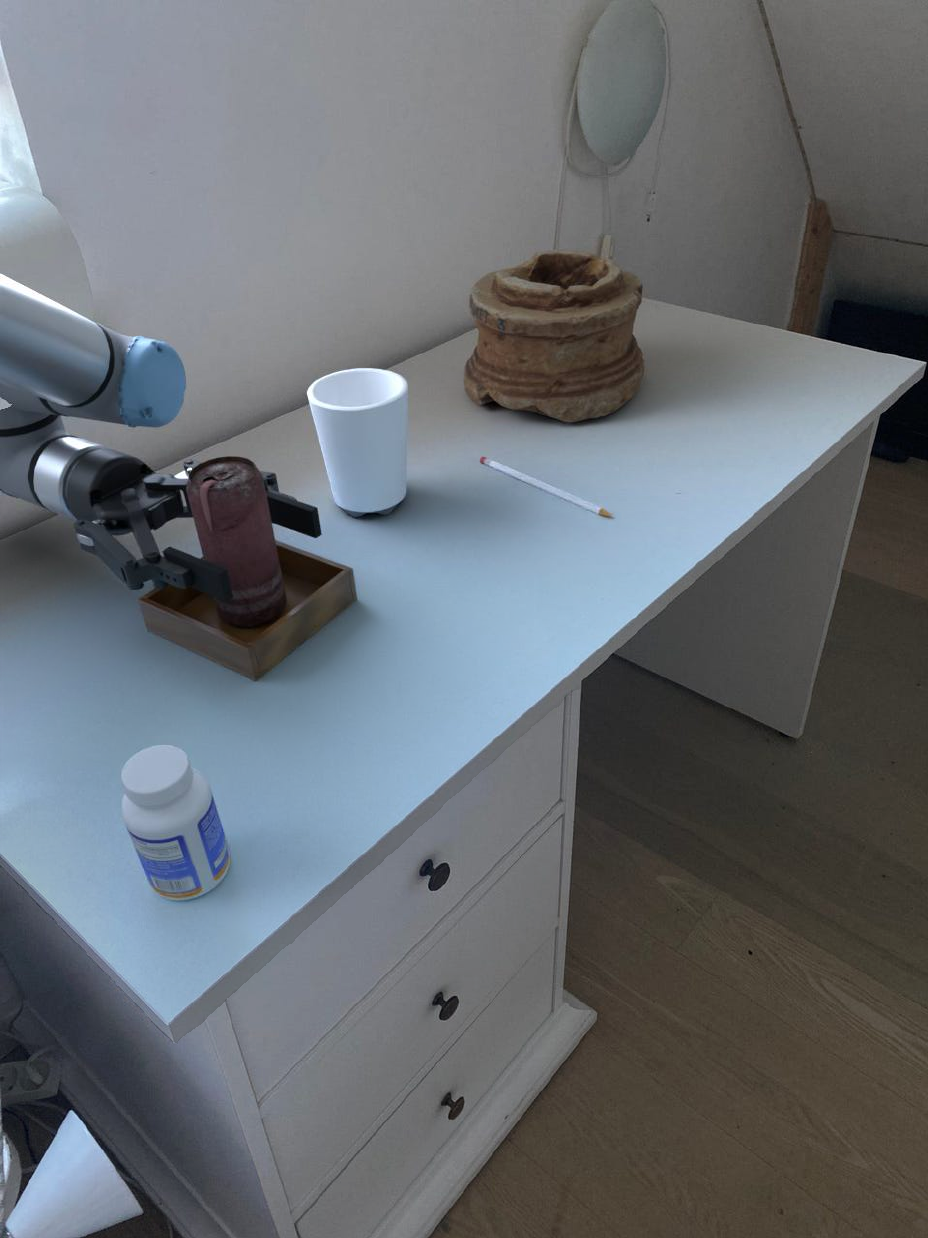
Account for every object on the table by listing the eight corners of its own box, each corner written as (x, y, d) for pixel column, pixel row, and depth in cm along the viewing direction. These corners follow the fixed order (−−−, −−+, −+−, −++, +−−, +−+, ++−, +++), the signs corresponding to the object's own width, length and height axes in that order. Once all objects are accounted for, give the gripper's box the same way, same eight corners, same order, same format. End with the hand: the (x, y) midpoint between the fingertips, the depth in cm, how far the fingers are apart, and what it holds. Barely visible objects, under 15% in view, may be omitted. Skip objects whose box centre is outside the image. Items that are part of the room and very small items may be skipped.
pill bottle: (203, 824, 65) (171, 721, 59) (248, 868, 62) (218, 764, 56) (133, 870, 62) (91, 768, 57) (175, 919, 59) (136, 816, 53)
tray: (255, 681, 77) (248, 649, 75) (146, 630, 83) (137, 599, 81) (357, 599, 86) (353, 568, 84) (252, 558, 92) (245, 528, 90)
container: (426, 397, 120) (418, 277, 110) (539, 339, 133) (540, 228, 124) (572, 446, 107) (576, 315, 98) (679, 376, 121) (691, 256, 112)
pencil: (484, 461, 106) (484, 455, 105) (617, 519, 95) (617, 513, 94) (479, 463, 105) (479, 458, 105) (612, 522, 94) (612, 516, 94)
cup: (325, 482, 103) (308, 371, 96) (415, 474, 104) (405, 363, 96) (322, 530, 95) (304, 413, 88) (419, 521, 96) (410, 404, 88)
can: (207, 630, 82) (169, 489, 74) (233, 588, 87) (200, 451, 79) (273, 635, 81) (243, 492, 73) (296, 592, 86) (270, 454, 78)
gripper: (196, 471, 98) (364, 528, 87) (6, 580, 83) (180, 664, 73) (180, 403, 93) (355, 455, 83) (-25, 506, 78) (157, 584, 68)
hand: (273, 553), depth 78 cm, fingers open, 10 cm apart
